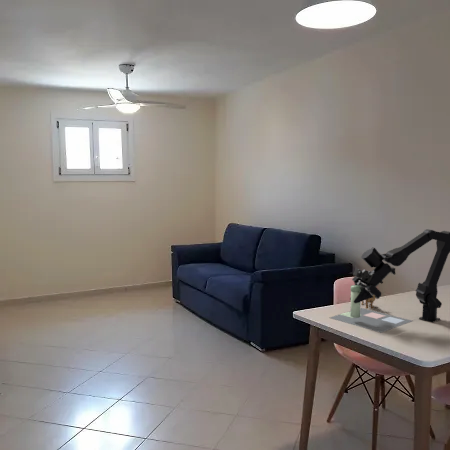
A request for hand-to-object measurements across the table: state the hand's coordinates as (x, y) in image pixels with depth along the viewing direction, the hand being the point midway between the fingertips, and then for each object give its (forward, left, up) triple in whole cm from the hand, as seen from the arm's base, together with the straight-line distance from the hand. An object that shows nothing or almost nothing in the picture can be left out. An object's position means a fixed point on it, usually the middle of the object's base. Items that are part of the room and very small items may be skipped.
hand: (352, 301), depth 200 cm
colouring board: (-9, +3, -9) cm, 13 cm away
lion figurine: (-27, -10, -10) cm, 31 cm away
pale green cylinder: (-1, +1, -7) cm, 7 cm away
